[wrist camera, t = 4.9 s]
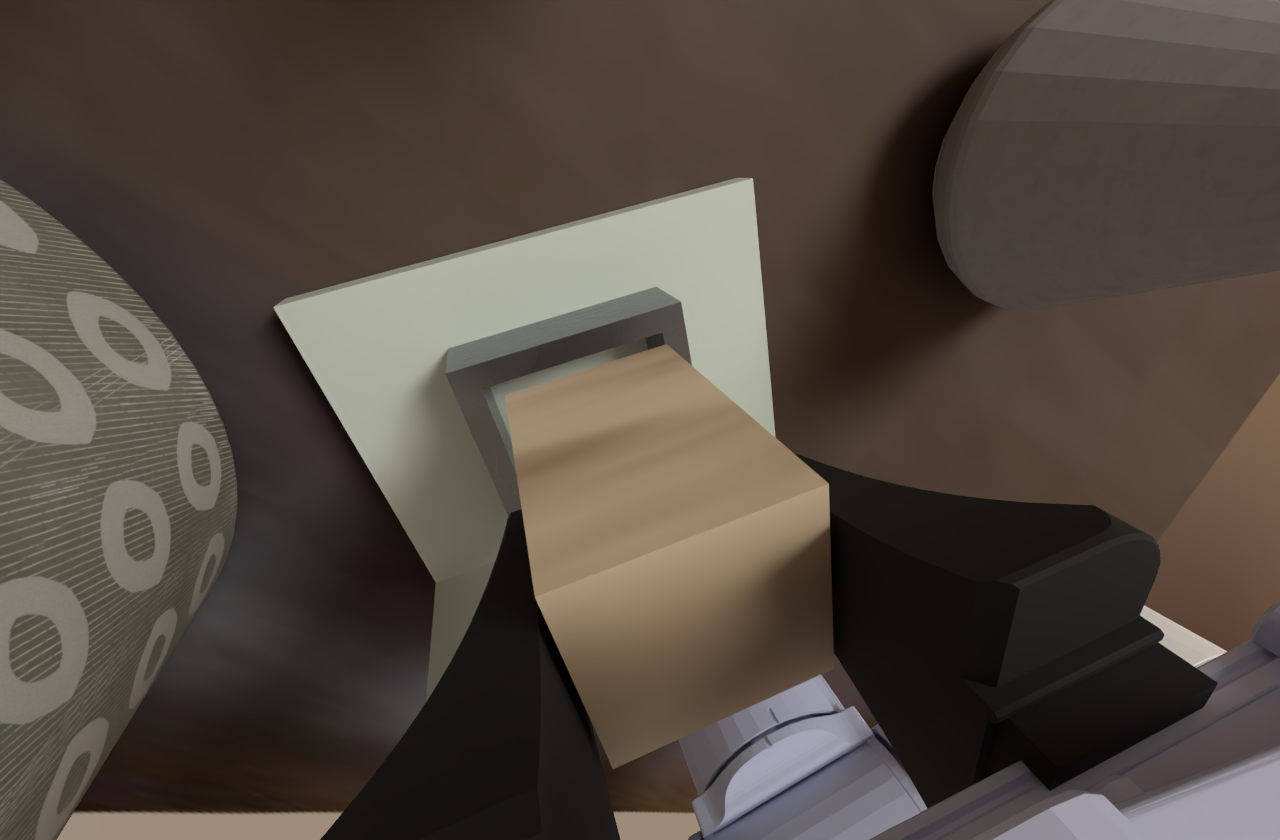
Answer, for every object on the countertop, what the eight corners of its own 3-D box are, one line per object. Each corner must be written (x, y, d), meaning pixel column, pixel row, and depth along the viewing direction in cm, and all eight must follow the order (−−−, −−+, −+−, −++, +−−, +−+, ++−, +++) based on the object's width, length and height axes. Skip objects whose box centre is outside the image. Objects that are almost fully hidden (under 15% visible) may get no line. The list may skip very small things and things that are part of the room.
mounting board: (765, 460, 25) (863, 555, 19) (446, 579, 22) (437, 734, 16) (737, 177, 19) (870, 180, 12) (285, 298, 16) (169, 377, 10)
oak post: (692, 476, 15) (833, 668, 9) (555, 526, 15) (612, 769, 9) (666, 344, 13) (828, 483, 7) (504, 395, 13) (534, 597, 7)
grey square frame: (694, 486, 23) (718, 518, 21) (533, 546, 21) (540, 587, 19) (656, 286, 18) (681, 301, 16) (448, 348, 17) (445, 373, 15)
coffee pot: (846, 171, 20) (1549, 169, 7) (1071, -91, 18) (2582, -753, 5) (1022, 437, 30) (1431, 633, 17) (1176, 288, 28) (1756, 383, 16)
